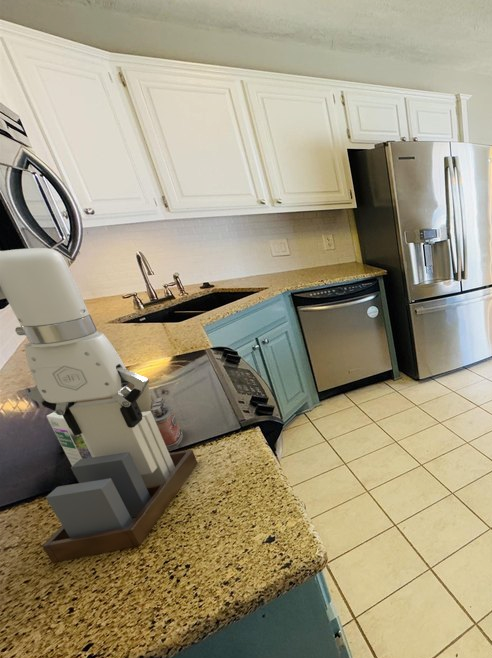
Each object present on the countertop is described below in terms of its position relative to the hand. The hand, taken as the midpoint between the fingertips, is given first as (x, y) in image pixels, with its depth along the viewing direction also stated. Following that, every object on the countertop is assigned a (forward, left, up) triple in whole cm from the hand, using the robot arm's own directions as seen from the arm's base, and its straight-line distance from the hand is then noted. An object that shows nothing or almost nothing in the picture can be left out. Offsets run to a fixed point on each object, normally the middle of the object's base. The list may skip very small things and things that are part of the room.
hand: (109, 426), depth 71 cm
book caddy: (0, -2, -16) cm, 16 cm away
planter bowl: (-18, +29, -16) cm, 38 cm away
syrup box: (-13, +12, -16) cm, 24 cm away
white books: (0, +4, -16) cm, 16 cm away
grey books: (0, -8, -16) cm, 17 cm away
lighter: (-4, +21, -16) cm, 27 cm away
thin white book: (0, 0, -10) cm, 10 cm away
